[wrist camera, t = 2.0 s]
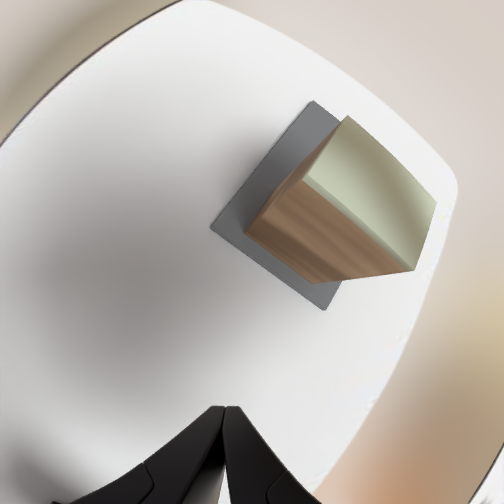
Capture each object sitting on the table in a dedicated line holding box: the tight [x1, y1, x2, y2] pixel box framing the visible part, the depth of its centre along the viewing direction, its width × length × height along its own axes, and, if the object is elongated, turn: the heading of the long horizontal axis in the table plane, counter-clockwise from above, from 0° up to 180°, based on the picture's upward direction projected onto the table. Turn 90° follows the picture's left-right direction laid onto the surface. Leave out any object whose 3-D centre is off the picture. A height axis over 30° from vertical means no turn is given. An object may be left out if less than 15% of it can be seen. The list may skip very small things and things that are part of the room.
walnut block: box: [244, 115, 437, 284], centre depth 16 cm, size 4×6×10 cm, turn 56°
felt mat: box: [210, 101, 342, 310], centre depth 22 cm, size 15×10×1 cm, turn 146°
